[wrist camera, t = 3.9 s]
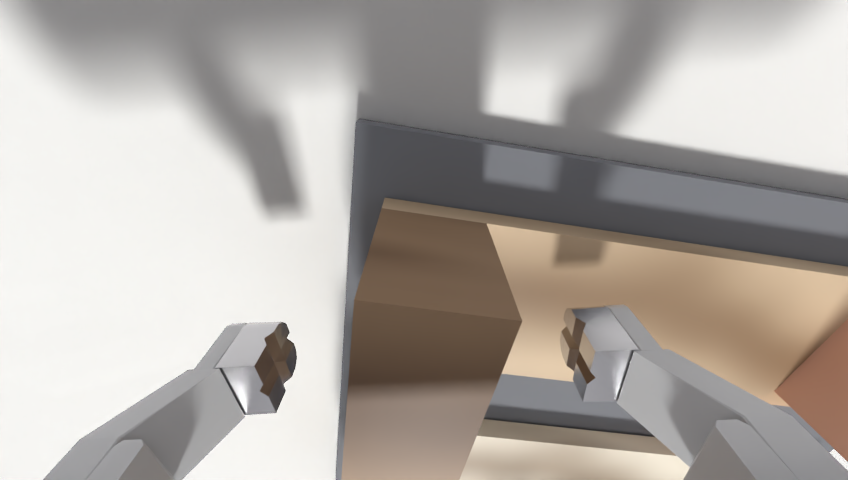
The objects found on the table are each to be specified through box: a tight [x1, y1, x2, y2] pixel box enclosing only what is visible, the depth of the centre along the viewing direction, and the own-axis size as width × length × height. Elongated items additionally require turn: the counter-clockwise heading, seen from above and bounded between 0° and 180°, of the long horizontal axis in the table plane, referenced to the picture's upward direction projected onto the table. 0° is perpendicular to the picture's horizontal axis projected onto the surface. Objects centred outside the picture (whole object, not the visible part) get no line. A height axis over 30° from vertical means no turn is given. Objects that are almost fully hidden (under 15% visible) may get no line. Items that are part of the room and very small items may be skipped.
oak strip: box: [341, 198, 848, 480], centre depth 10 cm, size 6×22×5 cm, turn 81°
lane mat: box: [336, 119, 848, 480], centre depth 15 cm, size 20×24×1 cm
